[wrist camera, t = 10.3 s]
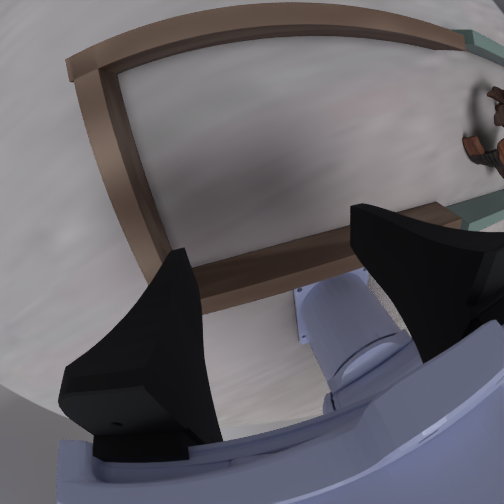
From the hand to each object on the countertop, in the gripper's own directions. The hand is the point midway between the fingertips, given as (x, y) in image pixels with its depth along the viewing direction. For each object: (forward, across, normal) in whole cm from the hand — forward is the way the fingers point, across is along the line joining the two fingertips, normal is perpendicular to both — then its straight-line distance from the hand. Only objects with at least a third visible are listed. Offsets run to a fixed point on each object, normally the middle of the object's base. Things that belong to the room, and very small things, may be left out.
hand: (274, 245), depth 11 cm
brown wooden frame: (+9, -7, -2) cm, 12 cm away
